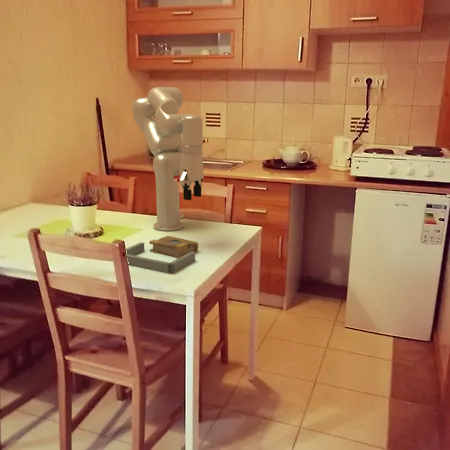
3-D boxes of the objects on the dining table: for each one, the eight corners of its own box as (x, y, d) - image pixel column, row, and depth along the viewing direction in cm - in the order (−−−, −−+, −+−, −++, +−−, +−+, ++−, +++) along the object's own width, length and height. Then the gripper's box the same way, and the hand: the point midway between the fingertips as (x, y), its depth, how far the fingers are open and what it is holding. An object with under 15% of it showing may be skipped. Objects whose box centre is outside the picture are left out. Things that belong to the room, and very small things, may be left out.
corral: (141, 250, 178) (140, 242, 177) (195, 260, 168) (195, 252, 167) (115, 261, 165) (114, 253, 164) (171, 273, 155) (171, 264, 154)
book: (149, 252, 177) (149, 239, 175) (169, 244, 185) (168, 232, 184) (180, 260, 169) (180, 246, 167) (199, 252, 178) (199, 239, 176)
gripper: (195, 147, 187) (195, 193, 192) (170, 151, 172) (171, 201, 177) (212, 148, 184) (212, 195, 189) (188, 153, 169) (189, 203, 174)
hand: (192, 197), depth 183 cm, fingers open, 6 cm apart
